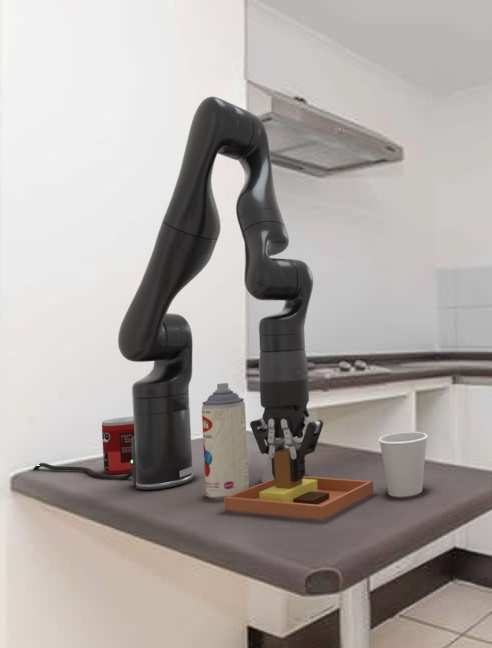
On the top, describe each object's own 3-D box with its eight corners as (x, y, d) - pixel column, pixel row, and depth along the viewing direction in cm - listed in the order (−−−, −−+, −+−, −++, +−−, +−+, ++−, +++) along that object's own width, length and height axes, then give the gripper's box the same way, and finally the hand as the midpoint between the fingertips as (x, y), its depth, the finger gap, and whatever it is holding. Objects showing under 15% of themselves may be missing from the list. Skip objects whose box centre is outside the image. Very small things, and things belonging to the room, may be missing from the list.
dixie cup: (425, 484, 101) (423, 429, 101) (434, 497, 93) (431, 438, 93) (378, 490, 98) (376, 434, 98) (383, 504, 90) (380, 444, 90)
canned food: (115, 466, 123) (113, 417, 123) (155, 463, 124) (153, 415, 124) (95, 476, 115) (93, 423, 115) (138, 472, 117) (135, 421, 116)
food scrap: (293, 504, 90) (293, 498, 90) (310, 497, 94) (309, 491, 94) (313, 506, 89) (313, 500, 89) (329, 498, 93) (329, 492, 93)
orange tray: (224, 512, 89) (223, 497, 89) (284, 488, 102) (283, 474, 102) (322, 523, 83) (322, 506, 83) (373, 495, 96) (372, 481, 96)
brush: (259, 504, 90) (257, 455, 90) (294, 489, 98) (292, 444, 98) (284, 506, 89) (282, 456, 88) (317, 491, 96) (315, 445, 96)
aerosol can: (205, 494, 100) (199, 383, 100) (246, 486, 104) (241, 380, 103) (207, 504, 94) (201, 387, 94) (251, 495, 98) (246, 383, 97)
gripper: (333, 374, 94) (337, 475, 94) (267, 375, 99) (272, 471, 99) (302, 380, 87) (307, 488, 87) (233, 380, 92) (238, 483, 92)
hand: (288, 478), depth 93 cm, fingers closed on brush, 3 cm apart
